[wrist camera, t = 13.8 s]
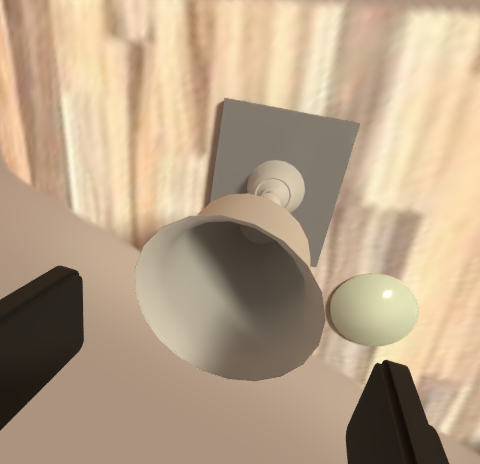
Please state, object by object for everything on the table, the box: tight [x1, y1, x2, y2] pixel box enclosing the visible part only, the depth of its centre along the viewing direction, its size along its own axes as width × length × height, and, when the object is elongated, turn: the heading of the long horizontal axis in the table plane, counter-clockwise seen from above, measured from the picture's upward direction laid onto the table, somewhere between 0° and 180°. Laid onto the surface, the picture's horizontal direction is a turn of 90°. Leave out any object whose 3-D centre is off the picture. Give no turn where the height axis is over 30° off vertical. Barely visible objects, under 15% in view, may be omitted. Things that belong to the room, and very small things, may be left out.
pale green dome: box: [330, 273, 419, 346], centre depth 31 cm, size 8×8×1 cm
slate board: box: [210, 98, 360, 267], centre depth 29 cm, size 11×13×1 cm
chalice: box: [135, 160, 325, 381], centre depth 20 cm, size 7×7×18 cm
